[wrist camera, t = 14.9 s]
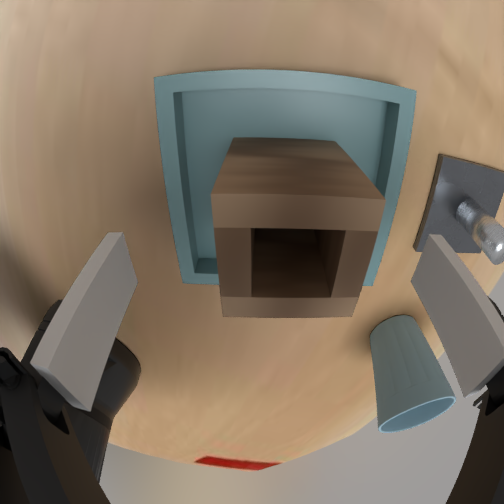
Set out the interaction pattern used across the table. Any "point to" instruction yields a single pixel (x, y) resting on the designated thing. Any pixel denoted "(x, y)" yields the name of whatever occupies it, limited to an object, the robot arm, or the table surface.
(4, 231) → the table surface
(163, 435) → the table surface
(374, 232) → the bored block
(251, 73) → the tray
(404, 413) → the cup
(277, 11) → the table surface
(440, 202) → the knob mounting plate
